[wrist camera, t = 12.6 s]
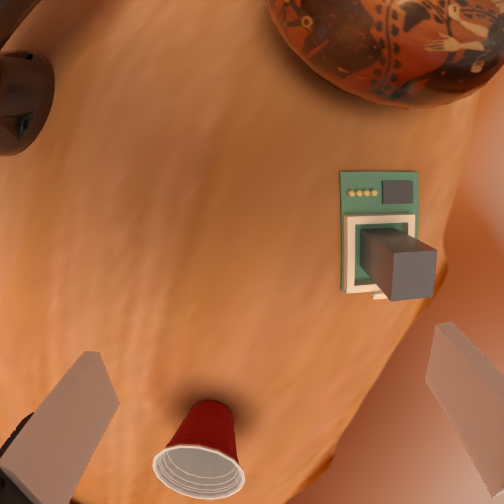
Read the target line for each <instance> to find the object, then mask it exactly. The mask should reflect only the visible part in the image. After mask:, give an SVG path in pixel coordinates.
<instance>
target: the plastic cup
mask: <svg viewBox="0 0 504 504" xmlns="http://www.w3.org/2000/svg"><path fill="white" fill-rule="evenodd" d="M152 467H153V469H154V472H155V474H156V476H157V478H158V479H159V480H160V481H161V482H163V483H164V484H165V485H166V486H167V487H169V488H170V489H172V490H174V491H176V492H178V493H180V494H182V495H186V496H190V497H193V498H197V499H219V498H224V497H229V496H231V495H233V494H234V493H236V492H238V491H240V489H241V488H242V486H243V484H244V483H245V476H244V471H243V468H242V467H241V466H240V465H239V461H238V458H237V452H236V442H235V433H234V428H233V418H232V414H231V411H230V410H229V409H228V407H226V406H225V405H223V404H222V403H220V402H216V401H213V400H204V401H201V402H198V403H197V404H196V405H195V406H194V407H193V408H192V409H191V410H190V412H189V414H188V415H187V417H186V418H185V419H184V420H183V422H182V424H181V425H180V427H179V428H178V430H177V432H176V433H175V435H174V436H173V438H172V439H171V441H170V442H169V443H168V444H167V446H166V447H165V448H164V449H163V450H162V451H160V452H159V453H158V454H156V456H155V457H154V461H153V465H152Z"/></svg>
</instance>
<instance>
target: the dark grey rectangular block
mask: <svg viewBox="0 0 504 504" xmlns="http://www.w3.org/2000/svg"><path fill="white" fill-rule="evenodd" d="M436 260H437V250H436V249H434V248H432V247H430V246H428V245H427V244H425V243H423V242H421V241H419V240H417V239H415V238H413V237H411V236H409V235H408V234H406V233H404V232H402V231H400V230H398V229H396V228H376V229H360V266H361V268H362V269H363V270H364V271H365V272H366V273H367V274H368V275H369V277H370V278H371V279H372V280H373V281H374V282H375V284H376V285H377V286H378V287H379V288H380V289H381V290H382V292H383V293H384V294H385V295H386V296H387V298H388V299H389V300H390V301H399V300H408V299H417V298H426V297H433V290H434V281H435V271H436Z"/></svg>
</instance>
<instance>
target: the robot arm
mask: <svg viewBox="0 0 504 504" xmlns="http://www.w3.org/2000/svg"><path fill="white" fill-rule="evenodd" d="M40 1H41V0H0V50H1V49H2V47H3V46H4V45H5V43H6V42H7V41H8V39H9V38H10V37H11V35H12V34H13V33H14V31H15V30H16V29H17V28H18V26H19V25H20V24H21V23H22V21H23V20H24V19H25V18H26V17H27V16H28V14H29V13H30V12H31V11H32V10H33V9H34V8H35V6H36V5H37V4H38V3H39V2H40ZM53 91H54V77H53V71H52V68H51V65H50V63H49V61H48V60H47V59H46V58H45V57H44V56H43V55H41V54H38V53H36V52H33V51H30V50H15V51H7V52H0V156H9V155H15V154H17V153H19V152H21V151H23V150H24V149H25V148H26V147H28V146H29V145H30V144H31V143H32V141H33V140H34V139H35V138H36V136H37V135H38V133H39V132H40V130H41V128H42V126H43V124H44V122H45V120H46V118H47V115H48V113H49V110H50V106H51V102H52V97H53ZM425 382H426V383H427V385H428V386H429V388H430V390H431V391H432V393H433V394H434V396H435V398H436V399H437V401H438V402H439V404H440V406H441V407H442V409H443V411H444V412H445V414H446V416H447V417H448V419H449V421H450V422H451V424H452V426H453V427H454V429H455V431H456V432H457V434H458V436H459V438H460V439H461V441H462V443H463V444H464V446H465V448H466V450H467V452H468V454H469V455H470V457H471V459H472V460H473V463H474V464H475V466H476V468H477V470H478V472H479V473H480V476H481V477H482V479H483V481H484V483H485V485H486V487H487V489H488V491H489V493H490V495H491V497H492V498H494V497H496V496H498V495H500V494H502V493H504V375H503V374H502V373H501V372H500V371H499V370H498V369H497V368H496V367H495V366H494V364H493V363H491V361H490V360H489V359H488V358H487V357H486V356H485V355H484V354H483V353H482V352H481V351H480V350H479V349H478V348H477V347H476V346H475V344H474V343H472V341H471V340H470V339H469V338H468V337H466V335H464V333H463V332H462V331H461V330H460V329H459V328H458V327H457V326H455V324H454V323H453V322H446V323H441V324H436V325H435V332H434V338H433V343H432V349H431V353H430V358H429V364H428V368H427V372H426V377H425ZM119 404H120V402H119V400H118V398H117V395H116V393H115V391H114V388H113V386H112V383H111V381H110V379H109V376H108V374H107V371H106V369H105V366H104V363H103V361H102V358H101V355H100V353H99V352H88V351H84V352H83V354H82V355H81V356H80V357H79V358H78V360H77V361H76V362H75V363H74V364H73V366H72V367H71V368H70V369H69V370H68V372H67V373H66V374H65V375H64V376H63V378H62V379H61V380H60V381H59V383H58V384H57V385H56V386H55V387H54V389H53V390H52V391H51V392H50V394H49V395H48V396H47V397H46V399H45V400H44V401H43V403H42V404H41V405H40V406H39V408H38V409H37V410H36V411H35V413H34V412H32V413H31V414H30V415H28V416H27V417H25V418H24V419H23V420H22V421H21V422H20V424H19V425H18V426H17V427H16V431H15V430H14V431H13V433H12V434H11V435H10V438H8V439H7V441H6V442H5V443H4V445H3V446H2V447H1V449H0V504H68V503H69V501H70V499H71V497H72V495H73V493H74V491H75V489H76V487H77V485H78V483H79V481H80V479H81V477H82V475H83V473H84V471H85V469H86V467H87V465H88V463H89V461H90V459H91V457H92V455H93V453H94V451H95V449H96V447H97V445H98V444H99V442H100V440H101V438H102V436H103V434H104V432H105V430H106V428H107V426H108V424H109V423H110V421H111V419H112V417H113V415H114V413H115V411H116V410H117V408H118V406H119Z"/></svg>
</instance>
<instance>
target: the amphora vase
mask: <svg viewBox="0 0 504 504" xmlns="http://www.w3.org/2000/svg"><path fill="white" fill-rule="evenodd" d="M266 3H267V6H268V9H269V13H270V16H271V19H272V22H273V24H274V25H275V27H276V28H277V30H278V31H279V33H280V34H281V36H282V37H283V39H284V40H285V42H286V43H287V45H288V47H289V48H290V49H291V50H292V51H293V52H295V53H296V54H297V55H298V56H299V57H300V58H301V59H302V60H303V61H304V62H305V63H306V64H307V65H308V66H309V67H310V68H311V69H312V70H313V71H314V72H315V73H316V74H317V75H318V76H319V77H321V78H322V79H324V80H325V81H327V82H328V83H330V84H331V85H333V86H334V87H336V88H338V89H341V90H343V91H346V92H348V93H351V94H353V95H356V96H359V97H362V98H364V99H366V100H369V101H371V102H373V103H376V104H381V105H387V106H392V107H398V108H403V109H416V108H434V107H438V106H442V105H446V104H450V103H452V102H455V101H457V100H460V99H462V98H465V97H468V96H470V95H472V94H473V93H475V92H476V91H477V90H479V89H480V88H482V87H483V86H484V85H486V84H487V83H488V81H490V80H491V79H492V77H493V76H494V75H496V74H497V72H499V70H500V69H501V68H502V67H503V65H504V0H266Z"/></svg>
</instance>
